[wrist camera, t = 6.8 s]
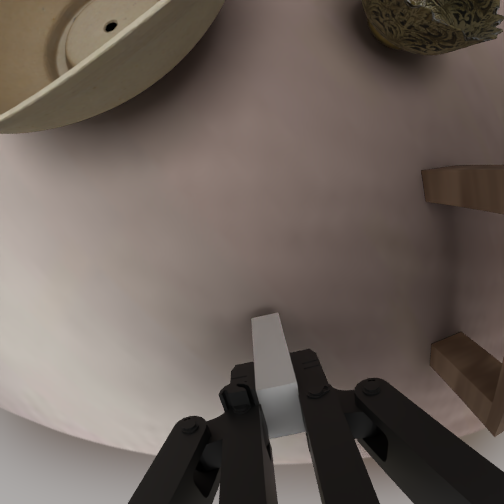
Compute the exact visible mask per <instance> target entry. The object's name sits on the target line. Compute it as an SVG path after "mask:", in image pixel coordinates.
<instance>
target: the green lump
mask: <svg viewBox="0 0 504 504" xmlns="http://www.w3.org/2000/svg"><path fill="white" fill-rule="evenodd" d="M362 5H363V9H364V11H365V14H366V16H367V22H368V27H369V29H370V31H371V33H372V35H373V36H374V37H375V38H376V39H377V40H378V41H379V42H380V43H381V44H383V45H384V46H386V47H388V48H391V49H395V50H405V51H408V52H411V53H414V54H420V55H438V54H443V53H448V52H452V51H455V50H458V49H461V48H465V47H468V46H471V45H474V44H478V43H481V42H485V41H489V40H493V39H496V38H497V35H498V34H500V33H501V32H503V30H502V29H499V28H496V26H497V25H499V24H500V23H501V22H502V21H503V20H504V16H502V15H498V14H497V10H498V9H499V8H500V0H362Z"/></svg>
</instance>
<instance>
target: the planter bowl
mask: <svg viewBox="0 0 504 504" xmlns="http://www.w3.org/2000/svg"><path fill="white" fill-rule="evenodd" d="M224 2H225V0H0V134H17V133H28V132H36V131H43V130H48V129H53V128H58V127H62V126H66V125H70V124H73V123H76V122H80V121H83V120H85V119H88V118H91V117H94V116H96V115H98V114H101V113H103V112H106V111H108V110H110V109H112V108H114V107H116V106H118V105H120V104H122V103H124V102H126V101H128V100H129V99H131V98H133V97H135V96H136V95H138V94H140V93H141V92H143V91H144V90H146V89H147V88H148V87H150V86H151V85H153V84H154V83H155V82H157V81H158V80H160V79H161V78H162V77H163V76H164V75H166V74H167V73H168V72H169V71H170V70H171V69H173V68H174V67H175V66H176V65H177V64H178V63H179V62H180V61H181V60H182V59H183V58H184V57H185V56H186V55H187V54H188V53H189V52H190V51H191V49H192V48H193V47H194V46H195V45H196V44H197V42H198V41H199V40H200V39H201V37H202V36H203V35H204V34H205V32H206V31H207V29H208V28H209V27H210V25H211V24H212V22H213V21H214V19H215V18H216V16H217V15H218V13H219V11H220V9H221V7H222V6H223V4H224ZM113 22H114V23H116V24H117V26H116V27H115V29H114V30H113V31H110V32H106V26H107V25H108V24H110V23H113Z"/></svg>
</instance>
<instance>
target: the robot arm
mask: <svg viewBox="0 0 504 504" xmlns="http://www.w3.org/2000/svg"><path fill="white" fill-rule="evenodd" d="M251 322H252V338H253V354H254V362H249V363H244V364H239V365H235V367H234V368H233V370H232V371H231V381H230V384H229V385H227V386H225V387H224V388H223V389H222V390H221V391H220V393H219V397H220V400H221V402H222V405H223V408H224V411H225V412H224V414H222V415H221V416H219V417H217V418H215V419H212V420H209V421H205V419H203V418H202V417H199V416H189V417H186V418H183V419H182V420H180V421H178V422H177V423H176V425H175V426H174V427H173V429H172V431H171V433H170V434H169V436H168V438H167V439H166V441H165V443H164V444H163V446H162V448H161V449H160V451H159V453H158V454H157V456H156V458H155V460H154V461H153V463H152V465H151V466H150V468H149V469H148V471H147V473H146V474H145V476H144V478H143V480H142V481H141V483H140V484H139V486H138V488H137V489H136V491H135V492H134V494H133V496H132V497H131V499H130V501H129V502H128V504H212V503H213V500H214V497H215V495H216V492H217V490H218V487H219V484H220V495H219V504H278V501H277V492H276V484H275V475H274V466H273V457H272V448H271V445H270V441H269V438H270V439H272V438H277V437H282V436H287V435H292V434H297V433H301V432H306V436H307V442H308V447H309V452H310V454H311V458H312V463H313V467H314V471H315V475H316V479H317V484H318V488H319V493H320V497H321V501H322V504H380V503H379V500H378V498H377V496H376V493H375V490H374V488H373V485H372V483H371V480H370V477H369V475H368V473H367V470H366V467H365V465H364V462H363V460H362V457H361V455H360V452H359V450H358V447H357V445H356V442H355V440H354V439H357V440H358V442H359V443H360V444H361V445H362V446H363V448H364V449H365V450H366V451H367V452H368V453H369V454H370V456H371V457H372V458H373V459H374V460H375V461H376V462H377V463H378V465H379V466H380V467H381V468H382V469H383V470H384V471H385V472H386V473H387V475H388V476H389V477H390V478H391V479H392V480H393V481H394V482H395V483H396V484H397V486H398V487H399V488H400V489H401V490H402V491H403V492H404V493H405V494H406V495H407V496H408V498H409V499H410V500H411V501H412V502H413V503H414V504H504V472H503V471H501V470H500V469H499V468H497V467H496V466H495V465H494V464H492V463H491V462H490V461H488V460H487V459H486V458H484V457H483V456H482V455H480V454H479V453H478V452H476V451H475V450H474V449H472V448H471V447H469V445H467V444H466V443H465V442H463V441H462V440H461V439H459V438H458V437H457V436H456V435H454V434H453V433H452V432H450V431H449V430H448V429H446V428H445V427H444V426H443V425H441V424H440V423H439V422H437V421H436V420H435V419H434V418H432V417H431V416H430V415H428V414H427V413H426V412H425V411H423V410H422V409H421V408H419V407H418V406H417V405H416V404H414V403H413V402H412V401H411V400H409V399H408V398H407V397H405V396H404V395H403V394H402V393H400V392H399V391H398V390H397V389H395V388H394V387H393V386H392V385H390V384H389V383H388V382H387V381H385V380H383V379H379V378H369V379H366V380H363V381H361V382H360V383H358V384H357V386H356V387H355V390H348V391H344V390H337V389H334V388H333V387H332V386H331V385H330V384H328V382H327V379H326V377H325V374H324V372H323V369H322V367H321V365H320V362H319V360H318V357H317V355H316V353H315V352H313V351H312V350H310V349H306V350H302V351H297V352H293V353H289V351H288V347H287V343H286V340H285V336H284V332H283V328H282V325H281V321H280V317H279V313H273V314H269V315H264V316H260V317H255V318H251Z"/></svg>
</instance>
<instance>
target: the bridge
mask: <svg viewBox="0 0 504 504" xmlns="http://www.w3.org/2000/svg"><path fill="white" fill-rule="evenodd" d="M421 173H422V179H423V185H424V192H425V199H426V202H432V203H439V204H446V205H452V206H459V207H465V208H471V209H477V210H483V211H488V212H494V213H499V214H504V165H462V166H449V167H442V168H435V169H428V170H421ZM430 366H431V367H432V368H433V369H434V370H435V371H436V372H437V373H438V374H439V376H440V377H441V378H442V379H443V380H444V381H445V382H446V383H447V384H448V385H449V386H450V387H451V388H452V390H453V391H454V392H455V393H456V394H457V395H458V396H459V397H460V398H461V399H462V401H463V402H464V403H465V404H466V405H467V406H468V407H469V408H470V410H471V411H472V412H473V413H474V414H475V415H476V416H477V417H478V419H479V420H480V421H481V422H482V423H483V424H484V425H485V427H486V428H487V429H488V430H489V431H490V432H491V433H492V435H493V436H494V437H495V436H497V435H498V434H500V433H502V432H503V431H504V358H503V363H501V362H499V361H498V360H497V359H496V358H494V357H493V356H492V355H491V354H489V353H488V352H487V351H486V350H484V349H483V348H482V347H480V346H479V345H478V344H477V343H475V342H474V341H473V340H471V339H470V338H469V337H468V336H466V335H465V334H464V333H462V332H460V333H457V334H455V335H453V336H450V337H448V338H445V339H443V340H441V341H438V342H436V343H433V344H431V358H430Z"/></svg>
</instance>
